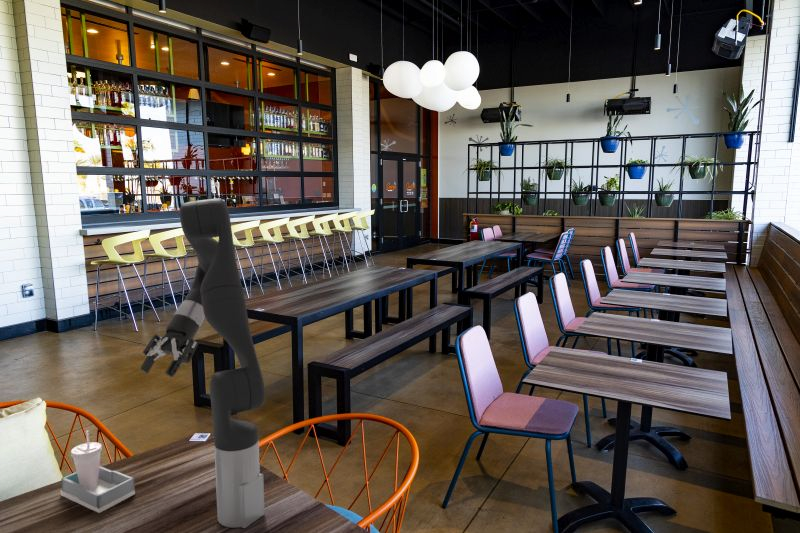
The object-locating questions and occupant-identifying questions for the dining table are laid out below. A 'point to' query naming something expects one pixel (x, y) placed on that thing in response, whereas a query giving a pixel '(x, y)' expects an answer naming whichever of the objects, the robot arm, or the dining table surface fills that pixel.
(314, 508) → the dining table surface
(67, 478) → the grey tray
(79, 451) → the smoothie
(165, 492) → the dining table surface
